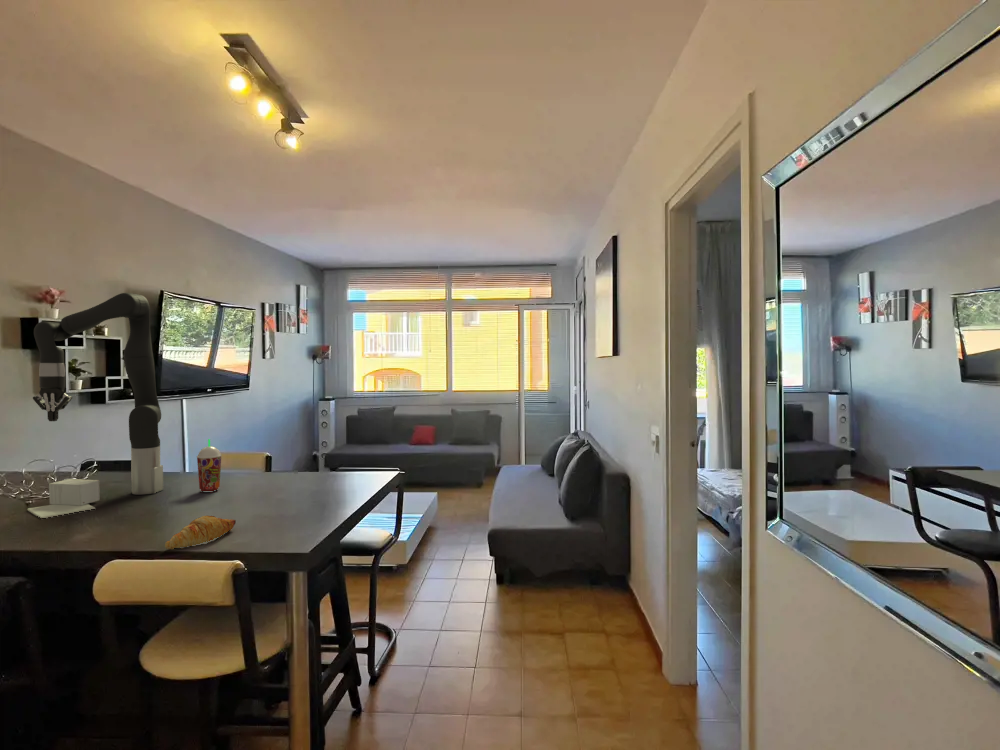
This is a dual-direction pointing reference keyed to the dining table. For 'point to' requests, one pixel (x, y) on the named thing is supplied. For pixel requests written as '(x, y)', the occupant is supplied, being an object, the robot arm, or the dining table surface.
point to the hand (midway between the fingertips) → (53, 421)
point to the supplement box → (74, 492)
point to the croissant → (200, 531)
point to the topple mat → (58, 510)
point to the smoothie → (209, 468)
